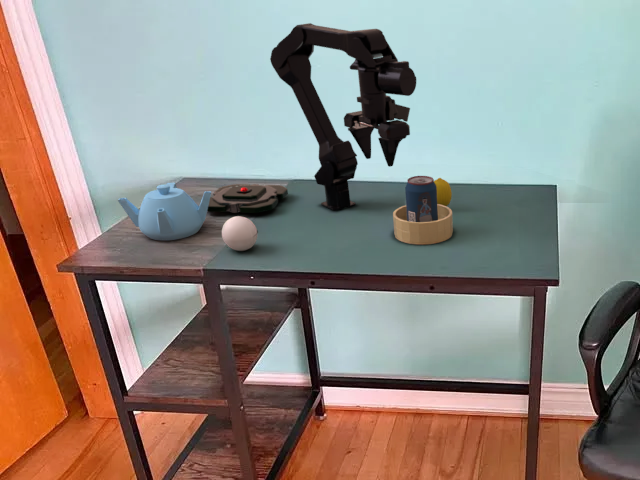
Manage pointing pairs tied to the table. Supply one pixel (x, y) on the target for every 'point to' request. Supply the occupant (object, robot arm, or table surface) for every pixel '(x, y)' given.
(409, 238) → the cream yellow bowl
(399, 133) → the robot arm
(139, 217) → the teapot
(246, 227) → the white ball
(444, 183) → the lemon
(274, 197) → the dark brown layered slab
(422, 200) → the soda can
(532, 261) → the table surface
